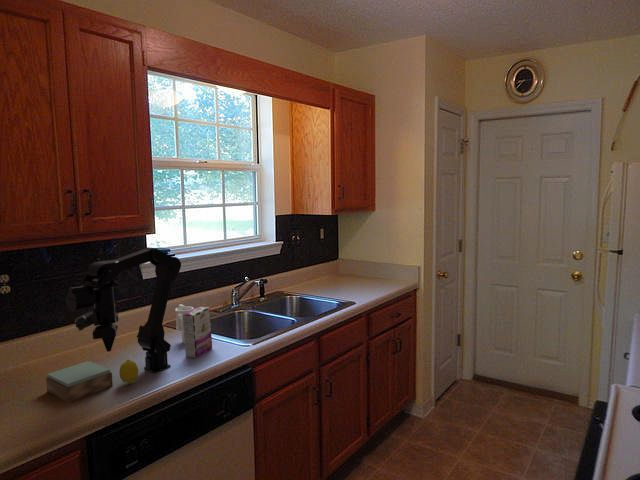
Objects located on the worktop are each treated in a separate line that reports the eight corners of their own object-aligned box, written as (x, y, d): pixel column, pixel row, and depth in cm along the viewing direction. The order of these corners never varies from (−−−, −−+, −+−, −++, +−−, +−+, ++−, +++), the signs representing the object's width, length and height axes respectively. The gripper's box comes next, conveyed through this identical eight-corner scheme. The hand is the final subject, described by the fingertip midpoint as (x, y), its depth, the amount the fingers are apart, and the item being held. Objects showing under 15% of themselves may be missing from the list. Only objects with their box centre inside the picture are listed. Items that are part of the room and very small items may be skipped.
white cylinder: (189, 338, 195) (187, 302, 193) (198, 341, 190) (196, 305, 188) (173, 342, 190) (171, 306, 188) (182, 346, 185) (180, 309, 183)
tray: (91, 376, 157) (90, 363, 156) (112, 386, 149) (111, 372, 149) (47, 391, 146) (45, 378, 145) (67, 402, 138) (66, 388, 137)
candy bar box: (201, 347, 184) (199, 306, 182) (212, 348, 182) (210, 307, 180) (184, 357, 173) (182, 313, 171) (196, 358, 172) (193, 314, 170)
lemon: (141, 380, 153) (139, 356, 152) (135, 387, 148) (133, 362, 147) (124, 380, 153) (122, 356, 152) (117, 387, 148) (115, 363, 147)
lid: (89, 363, 156) (88, 360, 156) (110, 372, 148) (109, 369, 148) (47, 377, 145) (47, 374, 145) (68, 387, 138) (67, 383, 138)
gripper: (79, 298, 151) (83, 345, 153) (70, 314, 134) (76, 366, 136) (116, 294, 155) (120, 340, 157) (113, 309, 138) (118, 360, 140)
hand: (109, 351), depth 147 cm, fingers closed
